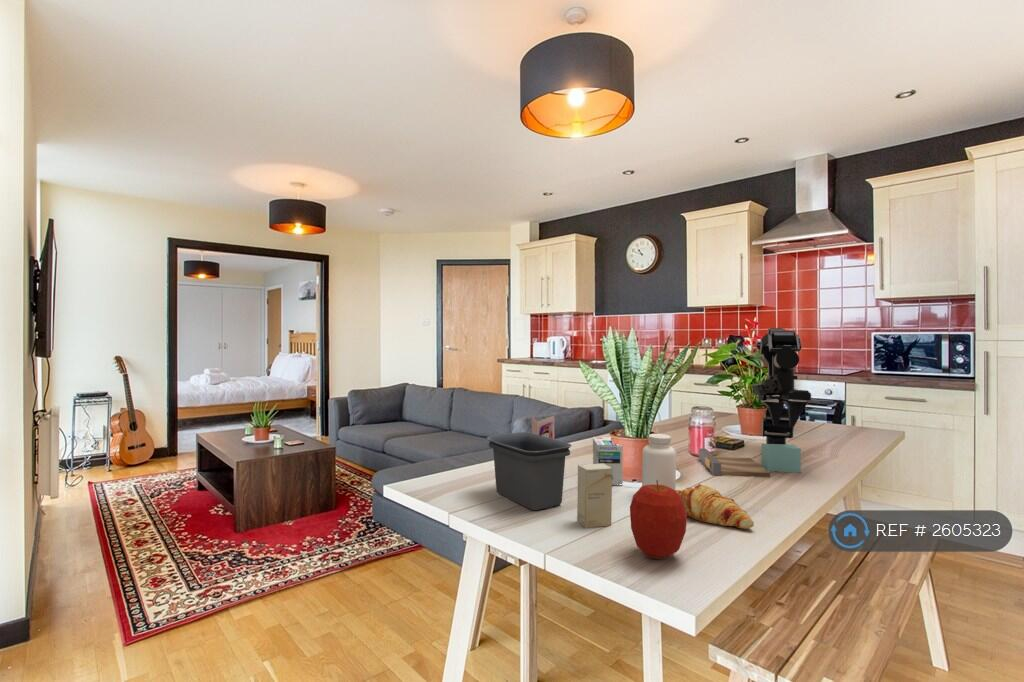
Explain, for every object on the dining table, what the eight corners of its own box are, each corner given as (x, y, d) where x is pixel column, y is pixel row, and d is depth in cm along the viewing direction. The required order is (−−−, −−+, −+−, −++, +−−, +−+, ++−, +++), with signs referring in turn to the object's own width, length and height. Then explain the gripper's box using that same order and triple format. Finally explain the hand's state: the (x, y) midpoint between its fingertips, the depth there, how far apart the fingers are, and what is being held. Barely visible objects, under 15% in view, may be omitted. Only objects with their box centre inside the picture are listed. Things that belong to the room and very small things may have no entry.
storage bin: (481, 492, 128) (481, 435, 127) (531, 481, 136) (531, 429, 136) (530, 518, 110) (530, 452, 109) (584, 504, 118) (584, 444, 118)
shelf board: (706, 460, 159) (706, 456, 159) (750, 461, 157) (750, 457, 157) (721, 475, 142) (721, 471, 142) (770, 477, 140) (770, 473, 140)
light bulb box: (623, 486, 133) (623, 445, 132) (597, 485, 133) (597, 445, 133) (615, 474, 143) (616, 436, 143) (592, 474, 143) (592, 436, 143)
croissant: (760, 545, 104) (770, 508, 106) (737, 533, 99) (748, 494, 101) (672, 513, 121) (682, 481, 123) (649, 501, 116) (660, 468, 118)
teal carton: (761, 466, 152) (761, 443, 152) (793, 467, 151) (793, 444, 150) (767, 471, 147) (767, 447, 147) (800, 472, 145) (800, 448, 145)
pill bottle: (678, 502, 120) (678, 439, 120) (643, 500, 121) (644, 438, 121) (673, 491, 128) (673, 432, 127) (640, 490, 129) (640, 431, 129)
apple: (662, 574, 84) (662, 491, 84) (616, 553, 93) (617, 477, 92) (698, 558, 90) (699, 481, 90) (653, 539, 99) (653, 468, 98)
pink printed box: (539, 474, 143) (539, 421, 143) (516, 470, 147) (516, 419, 146) (556, 465, 153) (556, 415, 153) (535, 462, 157) (535, 413, 156)
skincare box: (585, 528, 104) (585, 470, 104) (576, 520, 108) (576, 464, 108) (612, 525, 106) (613, 467, 105) (603, 517, 110) (603, 462, 110)
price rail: (698, 459, 160) (698, 448, 160) (705, 459, 160) (705, 448, 160) (712, 475, 142) (712, 463, 142) (720, 475, 142) (720, 463, 142)
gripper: (741, 372, 159) (741, 423, 157) (771, 368, 140) (771, 425, 138) (777, 375, 159) (777, 425, 156) (812, 370, 140) (812, 427, 138)
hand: (783, 425), depth 147 cm, fingers open, 9 cm apart
